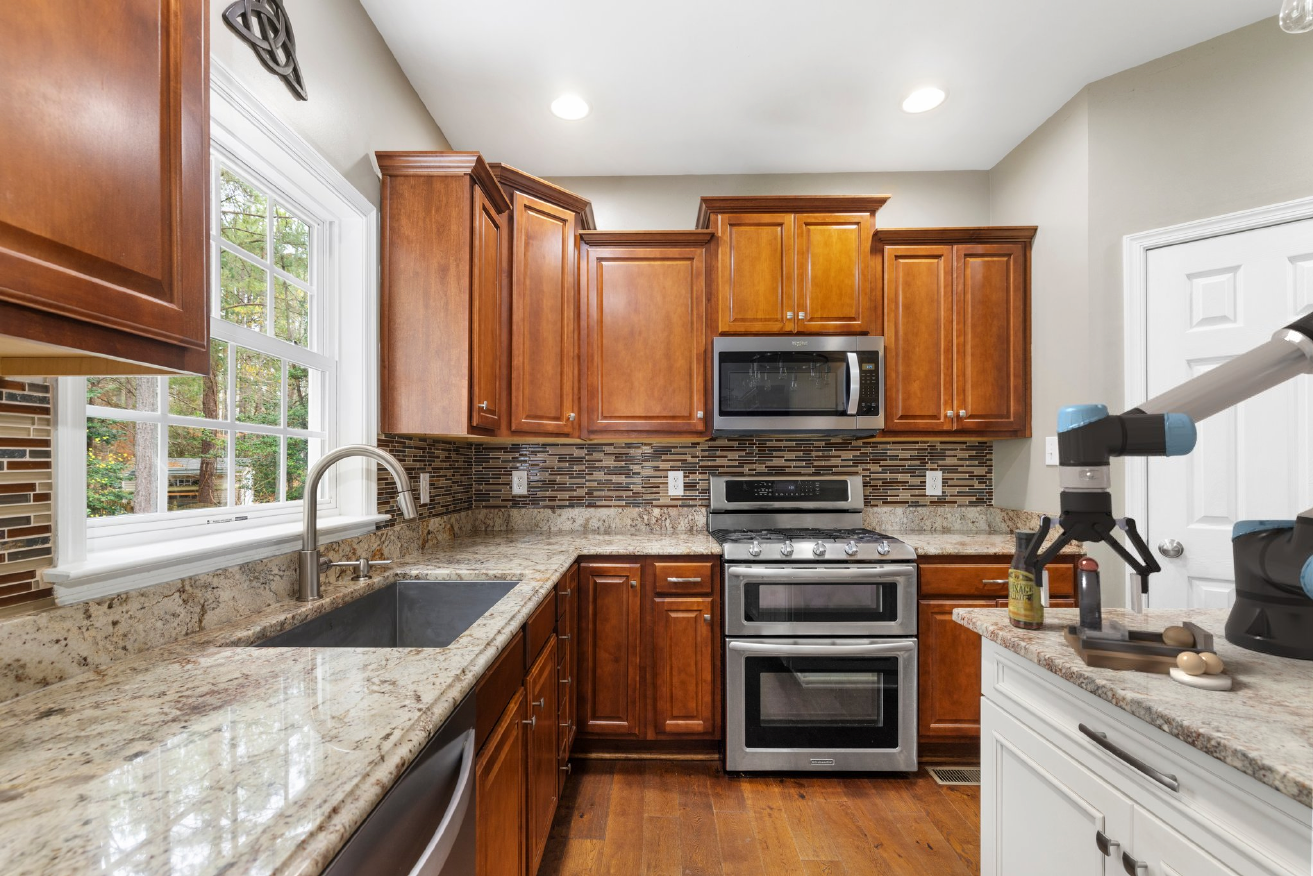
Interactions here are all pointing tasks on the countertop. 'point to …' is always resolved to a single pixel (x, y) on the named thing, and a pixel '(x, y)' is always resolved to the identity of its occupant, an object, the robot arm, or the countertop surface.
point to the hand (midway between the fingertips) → (1089, 608)
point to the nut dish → (1202, 680)
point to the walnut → (1178, 637)
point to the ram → (1094, 606)
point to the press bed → (1138, 650)
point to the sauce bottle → (1024, 587)
